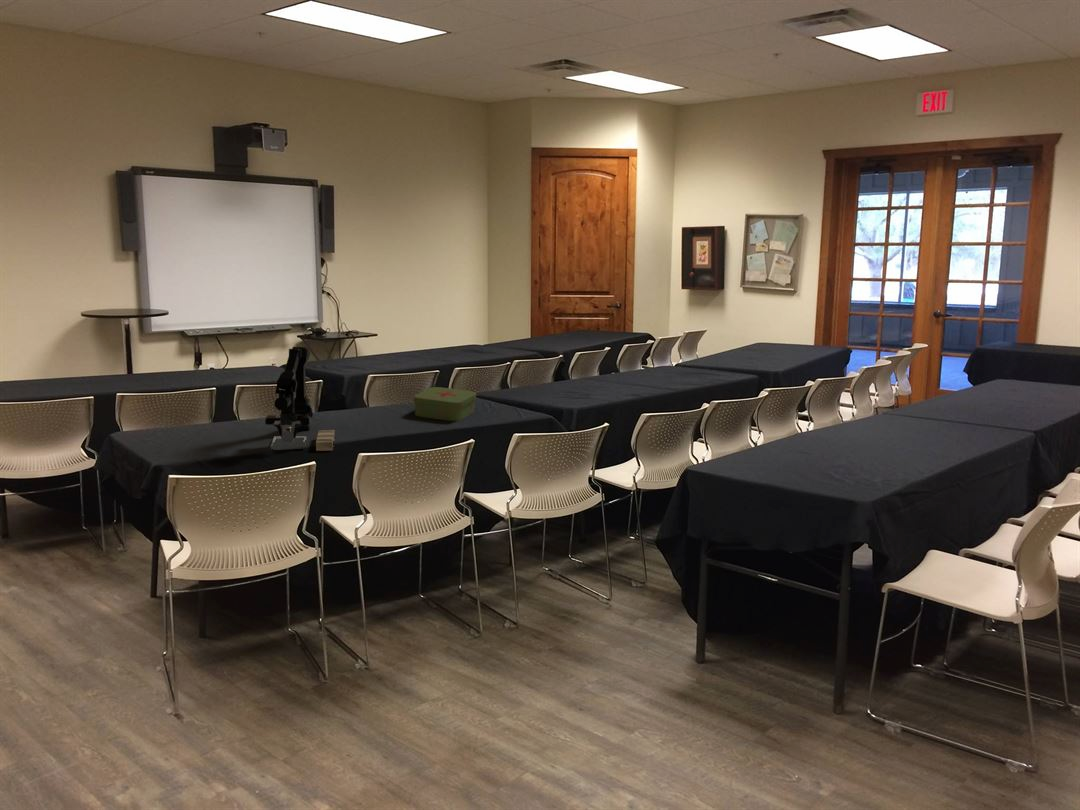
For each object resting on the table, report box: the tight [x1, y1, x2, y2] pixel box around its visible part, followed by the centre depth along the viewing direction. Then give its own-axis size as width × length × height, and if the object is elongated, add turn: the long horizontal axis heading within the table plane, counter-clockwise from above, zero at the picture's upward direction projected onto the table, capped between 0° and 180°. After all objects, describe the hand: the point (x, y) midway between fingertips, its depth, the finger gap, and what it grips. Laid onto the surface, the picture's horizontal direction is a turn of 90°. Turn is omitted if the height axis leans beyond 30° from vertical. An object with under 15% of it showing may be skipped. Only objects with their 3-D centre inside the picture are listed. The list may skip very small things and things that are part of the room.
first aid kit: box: [413, 386, 477, 422], centre depth 454 cm, size 26×26×10 cm
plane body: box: [315, 429, 336, 452], centre depth 394 cm, size 18×7×4 cm, turn 10°
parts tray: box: [269, 435, 307, 447], centre depth 392 cm, size 16×14×2 cm
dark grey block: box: [282, 426, 295, 442], centre depth 391 cm, size 7×5×5 cm
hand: (288, 438), depth 391 cm, fingers closed on dark grey block, 5 cm apart
